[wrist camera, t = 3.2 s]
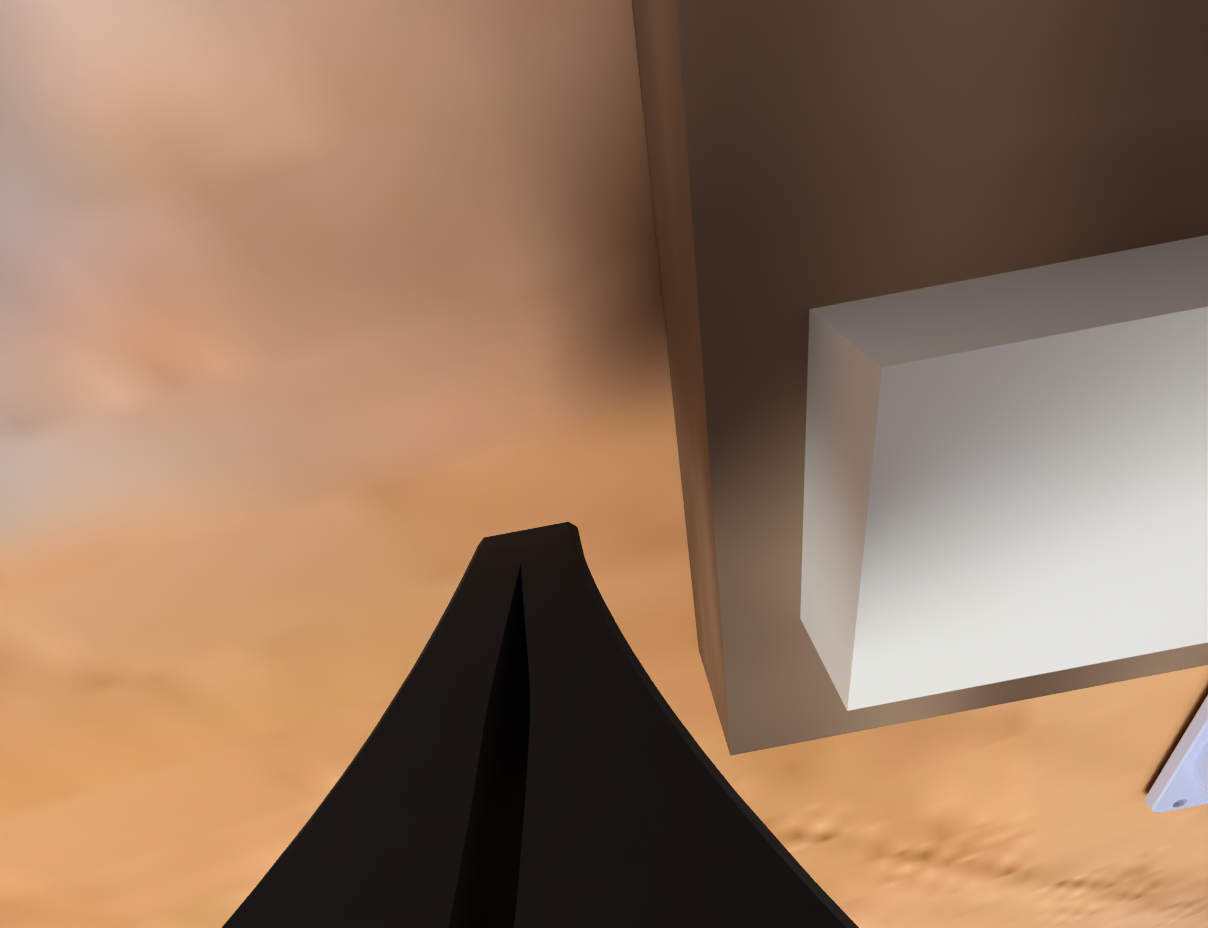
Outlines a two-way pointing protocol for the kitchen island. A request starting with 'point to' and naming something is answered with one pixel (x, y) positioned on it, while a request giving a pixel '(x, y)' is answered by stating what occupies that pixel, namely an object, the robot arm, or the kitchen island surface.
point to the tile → (1008, 474)
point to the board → (877, 253)
